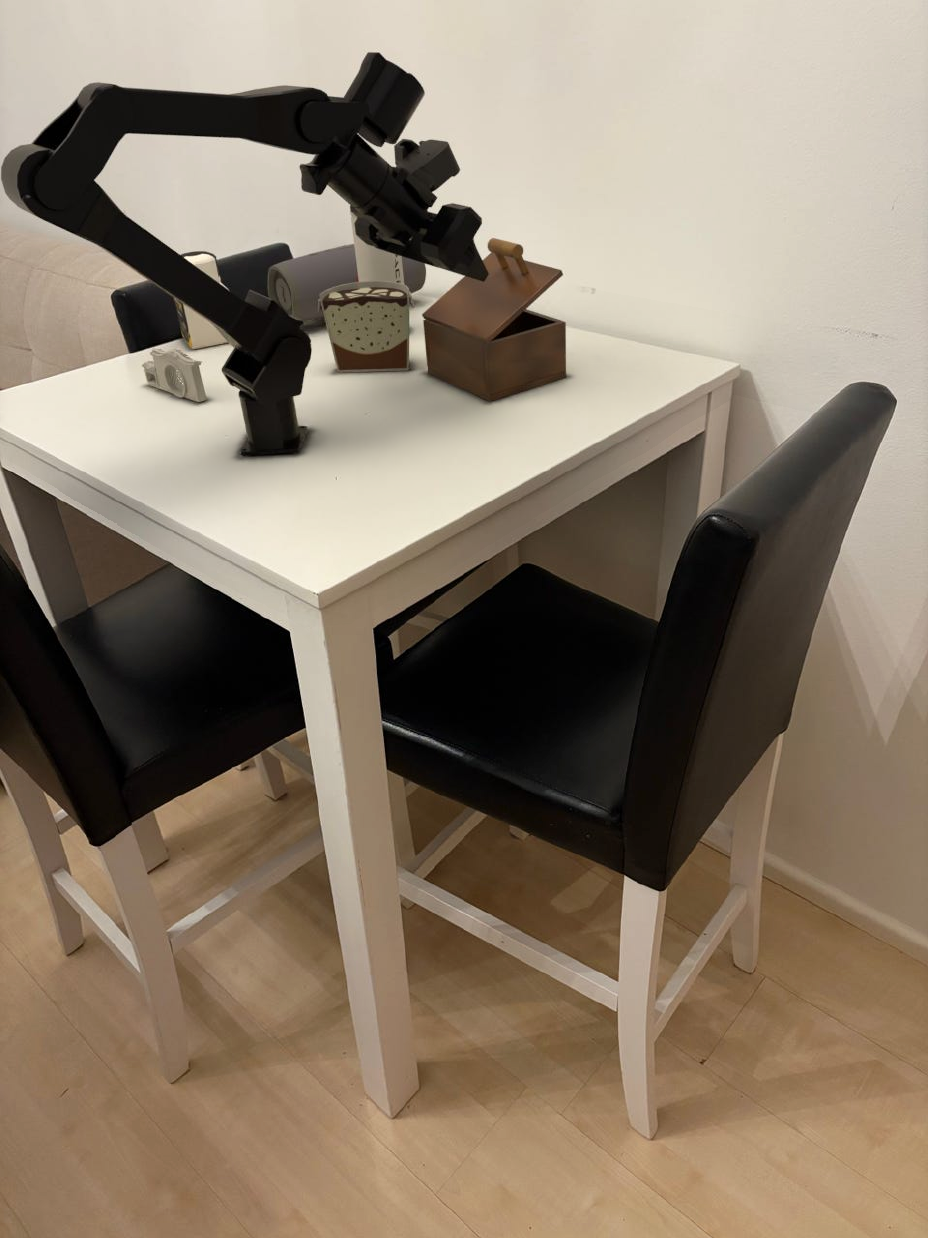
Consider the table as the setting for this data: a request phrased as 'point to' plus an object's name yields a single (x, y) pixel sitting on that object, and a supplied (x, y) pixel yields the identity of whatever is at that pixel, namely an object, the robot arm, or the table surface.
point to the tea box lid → (493, 293)
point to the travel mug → (375, 261)
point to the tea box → (499, 356)
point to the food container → (368, 325)
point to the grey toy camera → (175, 374)
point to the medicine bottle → (191, 323)
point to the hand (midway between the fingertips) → (462, 270)
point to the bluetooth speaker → (324, 279)
